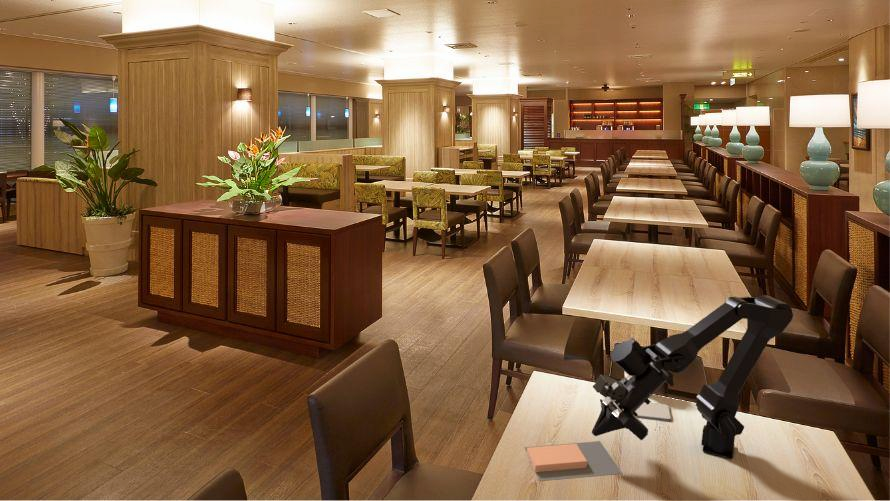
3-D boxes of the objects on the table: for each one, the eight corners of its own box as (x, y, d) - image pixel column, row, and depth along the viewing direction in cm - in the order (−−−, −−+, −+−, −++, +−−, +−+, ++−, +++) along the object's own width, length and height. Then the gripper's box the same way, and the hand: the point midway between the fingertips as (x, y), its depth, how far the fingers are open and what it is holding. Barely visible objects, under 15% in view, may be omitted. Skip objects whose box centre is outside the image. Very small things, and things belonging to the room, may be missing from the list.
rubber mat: (599, 442, 138) (599, 441, 138) (622, 475, 125) (622, 473, 125) (524, 449, 135) (524, 447, 135) (539, 482, 123) (539, 480, 123)
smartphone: (612, 398, 159) (668, 404, 154) (611, 401, 159) (668, 407, 155) (612, 413, 151) (671, 419, 147) (612, 416, 151) (671, 422, 147)
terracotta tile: (576, 443, 133) (527, 447, 132) (587, 461, 127) (535, 465, 125) (575, 450, 134) (526, 454, 132) (586, 468, 127) (535, 472, 126)
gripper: (601, 348, 135) (556, 394, 136) (636, 384, 117) (584, 436, 118) (631, 376, 138) (587, 420, 139) (670, 414, 120) (619, 465, 121)
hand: (593, 434), depth 129 cm, fingers closed
